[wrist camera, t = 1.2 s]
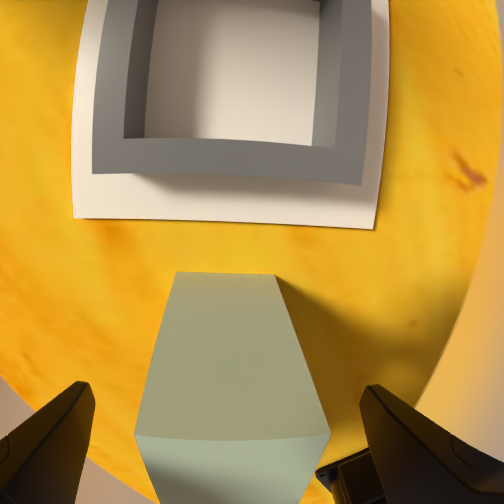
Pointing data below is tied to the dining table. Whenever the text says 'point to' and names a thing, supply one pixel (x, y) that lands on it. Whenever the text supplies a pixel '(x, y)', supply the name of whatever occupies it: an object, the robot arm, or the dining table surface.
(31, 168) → the dining table surface
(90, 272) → the dining table surface
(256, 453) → the sage block
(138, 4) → the socket
